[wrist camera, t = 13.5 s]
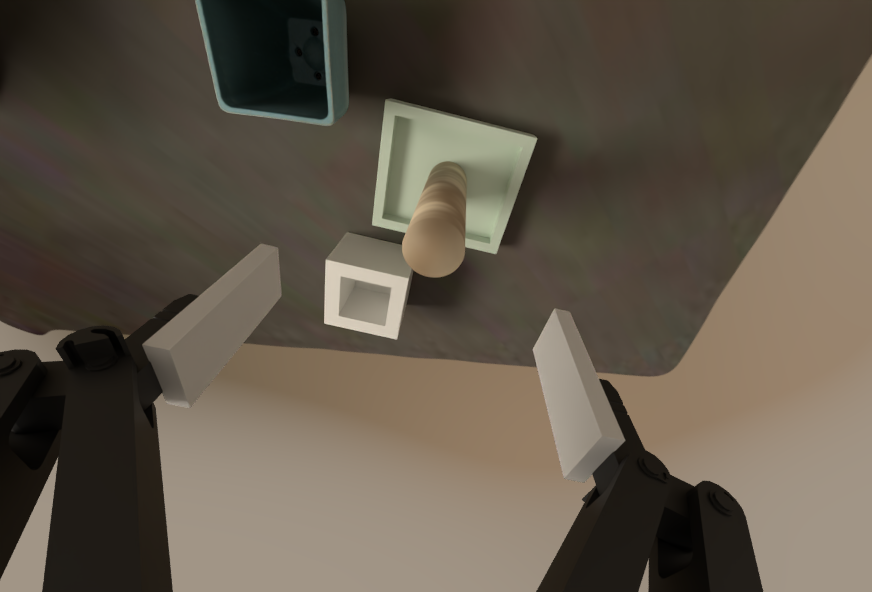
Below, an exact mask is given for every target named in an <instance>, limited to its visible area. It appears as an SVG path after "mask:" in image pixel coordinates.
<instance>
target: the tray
mask: <svg viewBox="0 0 872 592" xmlns="http://www.w3.org/2000/svg"><path fill="white" fill-rule="evenodd" d="M536 141H537V137H535V136H534V135H533V134H529V133H526V132H522V131H518V130H514V129H510V128H506V127H502V126H498V125H494V124H490V123H486V122H482V121H478V120H474V119H470V118H467V117H463V116H459V115H455V114H451V113H447V112H443V111H439V110H435V109H431V108H427V107H423V106H419V105H415V104H411V103H408V102H404V101H400V100H396V99H392V98H390V99H386V100H385V108H384V118H383V127H382V136H381V146H380V155H379V164H378V173H377V183H376V192H375V201H374V211H373V220H372V225H374V226H379V227H383V228H387V229H391V230H396V231H400V232H404V233H406V231H407V229H408V226H409V224H410V221H411V219H412V216H413V214H414V211H415V209H416V206H417V204H418V201H419V199H420V196H421V194H422V191H423V189H424V187H425V184H426V182H427V179H428V177H429V174H430V172H431V170H432V169H433V168H434V167H435V166H436V165H437V164H439V163H441V162H446V161H449V162H454V163H456V164H458V165H459V166H460V167H461V168H462V169H463V170H464V172H465V174H466V178H467V195H466V233H465V247H468V248H472V249H476V250H481V251H485V252H489V253H493V254H496V253H497V250H498V247H499V245H500V242H501V239H502V236H503V233H504V231H505V228H506V225H507V222H508V219H509V217H510V214H511V211H512V208H513V205H514V203H515V200H516V197H517V194H518V191H519V189H520V186H521V183H522V180H523V177H524V175H525V172H526V169H527V166H528V163H529V161H530V158H531V155H532V152H533V149H534V147H535V144H536Z"/></svg>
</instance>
